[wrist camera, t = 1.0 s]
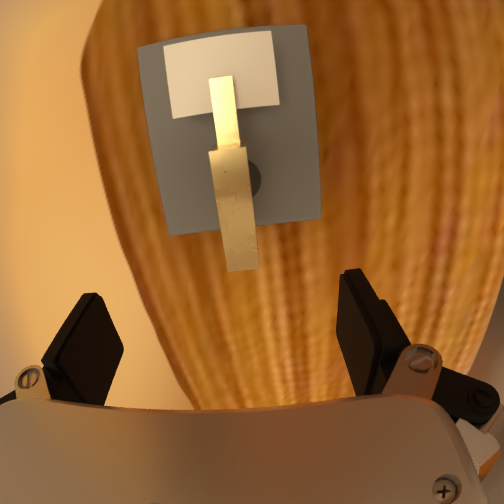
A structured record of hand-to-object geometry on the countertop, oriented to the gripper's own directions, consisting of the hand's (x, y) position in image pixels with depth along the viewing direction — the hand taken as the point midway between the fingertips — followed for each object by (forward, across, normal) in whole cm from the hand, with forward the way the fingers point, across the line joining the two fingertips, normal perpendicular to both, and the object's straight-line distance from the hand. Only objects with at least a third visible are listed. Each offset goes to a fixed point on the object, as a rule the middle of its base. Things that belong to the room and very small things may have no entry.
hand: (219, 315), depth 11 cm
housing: (+22, 0, -5) cm, 23 cm away
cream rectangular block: (+20, 0, -10) cm, 23 cm away
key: (+20, 0, -2) cm, 20 cm away
